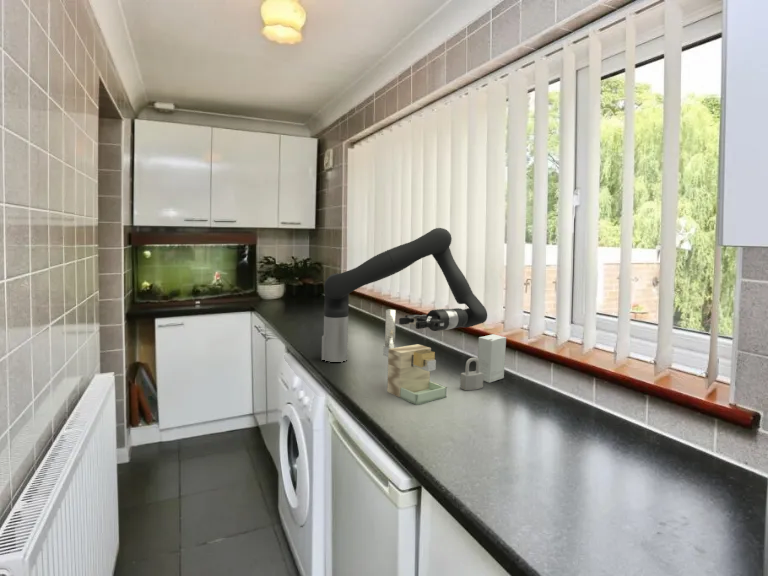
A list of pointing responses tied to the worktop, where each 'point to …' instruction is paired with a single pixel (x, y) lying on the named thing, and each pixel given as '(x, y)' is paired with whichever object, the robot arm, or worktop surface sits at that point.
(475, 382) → the padlock
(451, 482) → the worktop surface
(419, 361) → the spacer
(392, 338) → the crank handle
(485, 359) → the skincare box
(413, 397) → the tray
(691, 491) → the worktop surface
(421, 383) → the bearing block
